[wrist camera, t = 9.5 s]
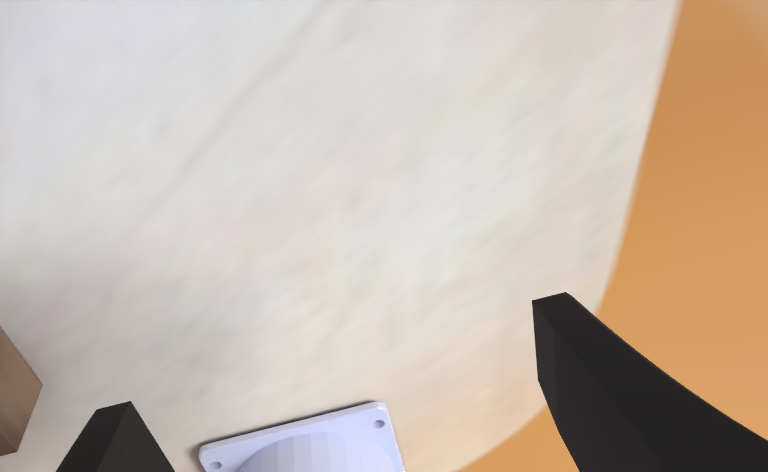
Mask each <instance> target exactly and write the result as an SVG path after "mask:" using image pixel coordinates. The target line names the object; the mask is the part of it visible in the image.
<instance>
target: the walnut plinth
mask: <svg viewBox="0 0 768 472" xmlns="http://www.w3.org/2000/svg"><path fill="white" fill-rule="evenodd" d="M41 388H42V383H41V382H40V381H39V379H38V378H37V377H36V375H35V374H34V372H33V371H32V370H31V368H30V367H29V366H28V364H27V363H26V361H25V360H24V359H23V357H22V356H21V355H20V353H19V352H18V351H17V349H16V348H15V346H14V345H13V344H12V342H11V341H10V340H9V338H8V337H7V335H6V334H5V333H4V331H3V330H2V329H1V327H0V456H3V455H7V454H11V453H15V452H17V451H18V448H19V445H20V443H21V440H22V437H23V435H24V432H25V430H26V427H27V424H28V422H29V419H30V417H31V414H32V411H33V409H34V406H35V403H36V401H37V398H38V396H39V393H40V390H41Z"/></svg>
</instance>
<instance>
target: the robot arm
mask: <svg viewBox="0 0 768 472" xmlns="http://www.w3.org/2000/svg"><path fill="white" fill-rule="evenodd" d="M532 306H533V320H534V333H535V346H536V359H537V372H538V381H539V383H540V386H541V388H542V391H543V394H544V396H545V399H546V401H547V404H548V407H549V409H550V412H551V414H552V416H553V419H554V421H555V424H556V426H557V429H558V431H559V433H560V435H561V437H562V439H563V441H564V443H565V445H566V447H567V448H568V450H569V452H570V454H571V456H572V458H573V460H574V462H575V463H576V465H577V467H578V469H579V471H580V472H768V441H767V440H766V439H764V438H762V437H761V436H759V435H757V434H756V433H754V432H752V431H751V430H749V429H747V428H746V427H744V426H743V425H741V424H739V423H738V422H736V421H734V420H733V419H731V418H730V417H728V416H727V415H725V414H724V413H722V412H721V411H719V410H718V409H716V408H715V407H713V406H712V405H710V404H709V403H707V402H706V401H704V400H703V399H701V398H700V397H699V396H697V395H696V394H694V393H693V392H691V391H690V390H688V389H686V388H685V387H684V386H683V385H681V384H680V383H679V382H677V381H676V380H675V379H673V378H672V377H670V376H669V375H668V374H666V373H665V372H664V371H662V370H661V369H660V368H658V367H657V366H656V365H655V364H653V363H652V362H651V361H649V360H648V359H647V358H645V357H644V356H643V355H641V354H640V353H639V352H637V351H636V350H635V349H634V348H633V347H631V346H630V345H629V344H627V343H626V342H625V341H624V340H623V339H621V338H620V337H619V336H618V335H616V334H615V333H614V332H613V331H612V330H611V329H609V328H608V327H607V326H606V325H605V324H603V323H602V322H601V321H600V320H599V319H598V318H596V317H595V316H594V315H593V314H592V313H591V312H589V311H588V310H587V309H586V308H585V307H584V306H583V305H581V304H580V303H579V302H578V301H577V300H576V299H575V298H574V297H573V296H571V295H570V294H568V293H566V292H564V293H560V294H556V295H552V296H548V297H544V298H540V299H536V300H532ZM377 420H379V421H377ZM199 461H200V462H201V464H202V466H203V468H204V469H205V471H206V472H405V470H404V466H403V463H402V459H401V456H400V452H399V449H398V445H397V441H396V438H395V434H394V431H393V427H392V424H391V420H390V417H389V413H388V410H387V407H386V405H385V404H383V403H382V402H371V403H367V404H363V405H360V406H356V407H352V408H348V409H344V410H340V411H336V412H332V413H328V414H324V415H320V416H316V417H312V418H308V419H304V420H300V421H296V422H292V423H288V424H284V425H280V426H276V427H272V428H268V429H264V430H260V431H256V432H252V433H248V434H245V435H241V436H237V437H233V438H229V439H225V440H221V441H217V442H213V443H209V444H206V445H204V446H202V447H201V448H200V450H199ZM216 461H217V462H216ZM56 472H175V471H174V469H173V468H172V466H171V464H170V463H169V461H168V460H167V458H166V457H165V455H164V453H163V452H162V450H161V449H160V447H159V445H158V444H157V442H156V441H155V439H154V437H153V436H152V434H151V433H150V431H149V429H148V428H147V426H146V425H145V423H144V421H143V420H142V418H141V417H140V415H139V413H138V412H137V410H136V409H135V407H134V405H133V404H132V402H131V401H129V402H125V403H121V404H117V405H113V406H109V407H105V408H101V409H97V410H96V411H95V413H94V414H93V416H92V417H91V418H90V420H89V421H88V423H87V424H86V426H85V427H84V429H83V430H82V432H81V434H80V435H79V437H78V438H77V440H76V441H75V443H74V444H73V446H72V447H71V449H70V450H69V452H68V454H67V455H66V457H65V458H64V460H63V461H62V463H61V464H60V466H59V467H58V469H57V470H56Z"/></svg>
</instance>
